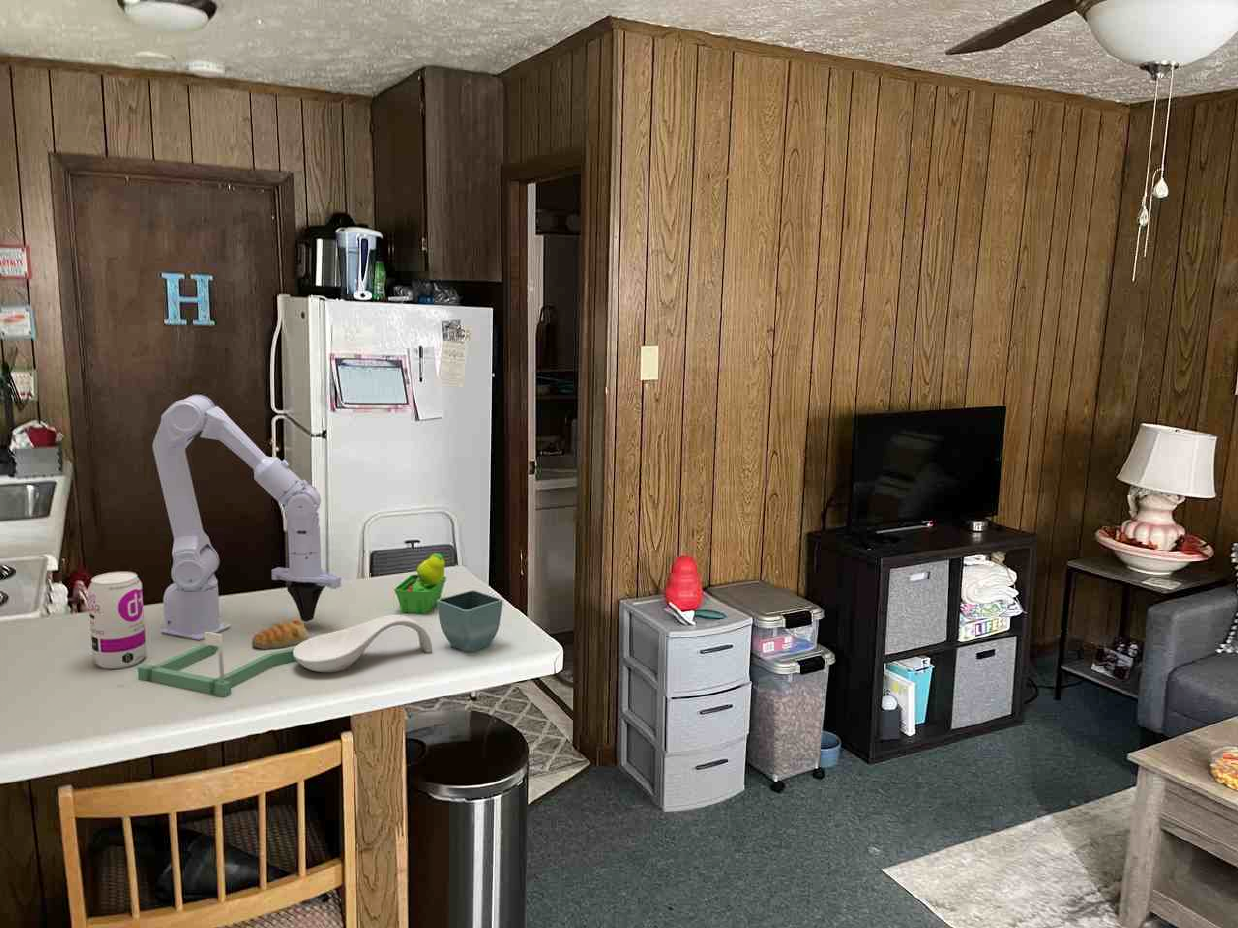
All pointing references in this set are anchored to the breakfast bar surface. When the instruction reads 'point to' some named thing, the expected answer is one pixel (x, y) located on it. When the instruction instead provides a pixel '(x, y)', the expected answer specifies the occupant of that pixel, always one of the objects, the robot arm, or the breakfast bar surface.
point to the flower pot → (470, 619)
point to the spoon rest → (350, 643)
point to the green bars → (220, 686)
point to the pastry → (281, 635)
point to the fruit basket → (422, 586)
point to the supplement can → (117, 620)
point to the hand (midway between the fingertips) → (307, 619)
